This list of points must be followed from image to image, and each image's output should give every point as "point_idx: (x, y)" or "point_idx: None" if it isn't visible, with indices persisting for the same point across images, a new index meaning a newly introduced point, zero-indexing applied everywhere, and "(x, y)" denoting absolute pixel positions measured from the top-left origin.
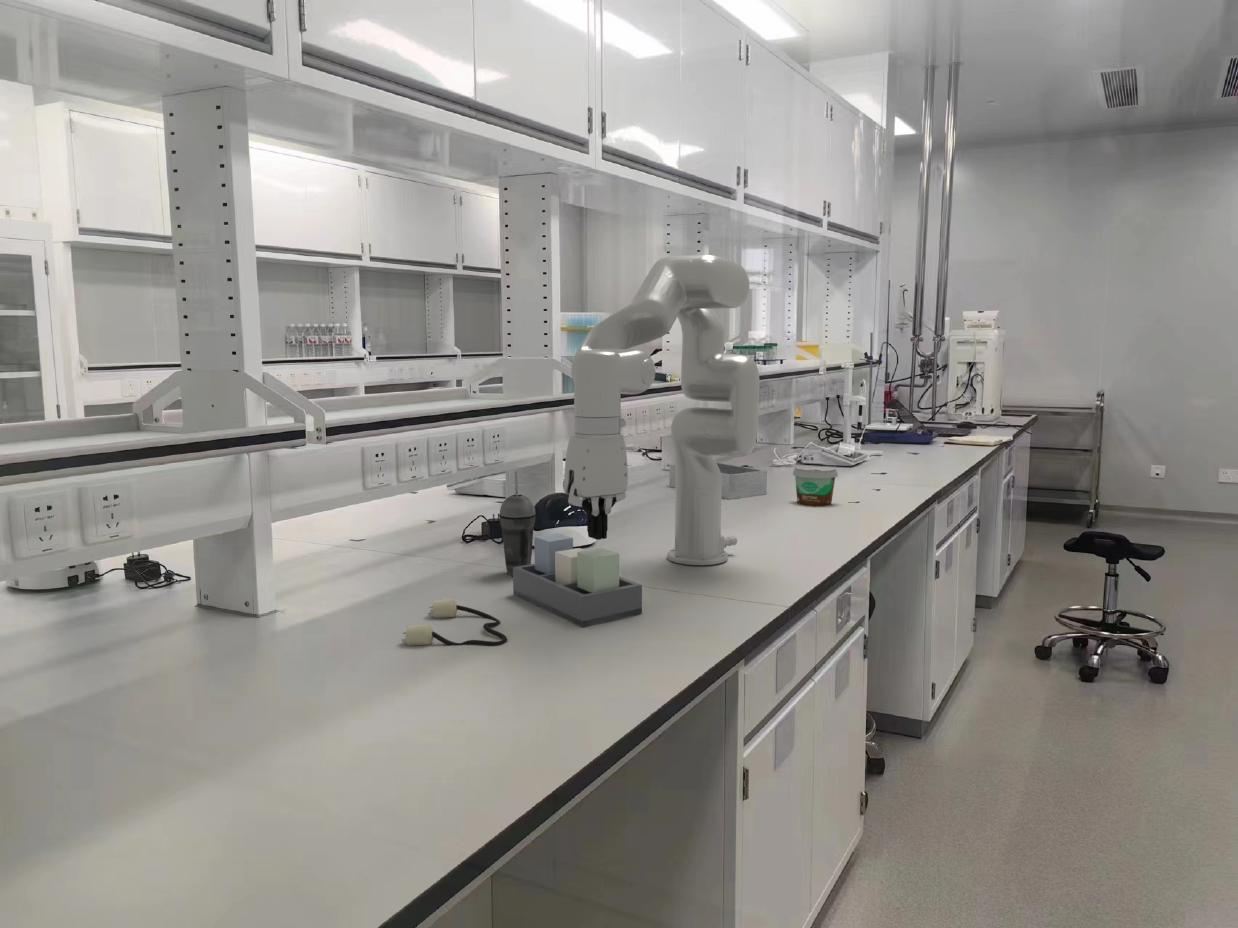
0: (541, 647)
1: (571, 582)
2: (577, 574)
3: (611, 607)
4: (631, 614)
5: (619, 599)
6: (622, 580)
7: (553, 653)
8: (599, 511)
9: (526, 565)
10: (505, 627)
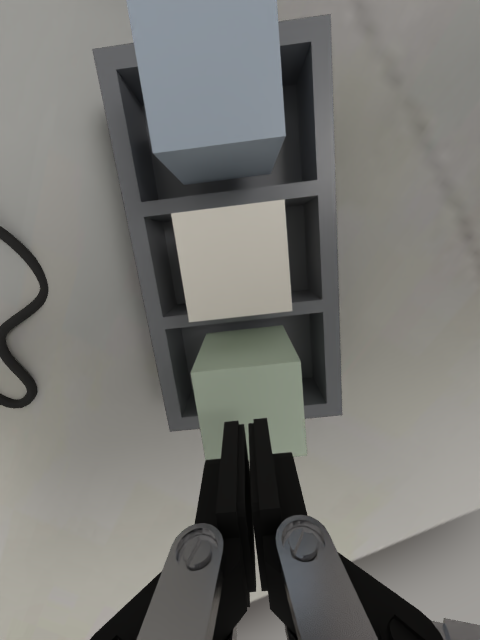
0: (83, 445)
1: None
2: (202, 344)
3: None
4: None
5: None
6: (325, 359)
7: (93, 473)
8: (267, 585)
9: None
10: (50, 328)
